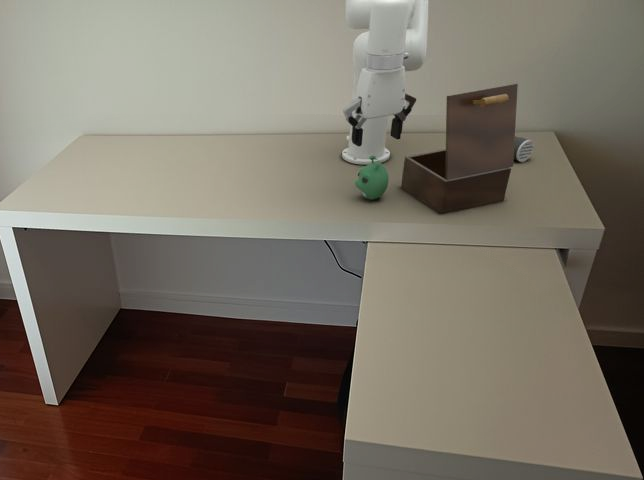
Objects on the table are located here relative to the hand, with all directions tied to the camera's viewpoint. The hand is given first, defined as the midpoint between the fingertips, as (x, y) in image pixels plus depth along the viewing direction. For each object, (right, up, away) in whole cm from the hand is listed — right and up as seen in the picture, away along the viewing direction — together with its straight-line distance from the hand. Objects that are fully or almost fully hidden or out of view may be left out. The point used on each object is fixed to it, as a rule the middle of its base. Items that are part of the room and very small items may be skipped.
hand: (376, 141), depth 147 cm
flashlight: (+41, +4, +24) cm, 48 cm away
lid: (+20, 0, -7) cm, 22 cm away
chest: (+20, -10, +7) cm, 24 cm away
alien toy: (+1, -11, +9) cm, 14 cm away
